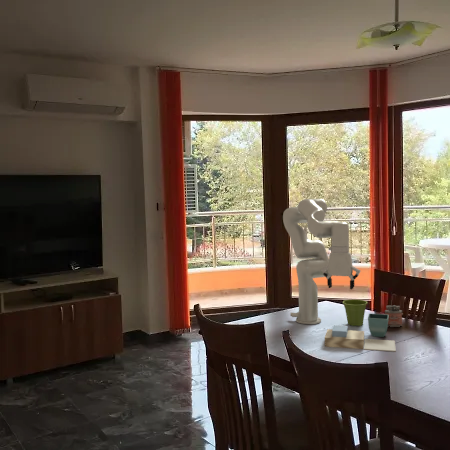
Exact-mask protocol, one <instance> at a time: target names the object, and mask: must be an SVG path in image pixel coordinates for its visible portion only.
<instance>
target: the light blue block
mask: <svg viewBox="0 0 450 450" xmlns="http://www.w3.org/2000/svg"><path fill="white" fill-rule="evenodd" d="M348 328H349V326H348V325H340V324H339V325H337V324H335V325H333V326H332V329H333V330H332V337H347V333H348V330H349V329H348Z"/></svg>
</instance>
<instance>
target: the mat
mask: <svg viewBox="0 0 450 450" xmlns="http://www.w3.org/2000/svg"><path fill="white" fill-rule="evenodd" d="M363 350H366V351H379V352H397V351H396V341H395V340H393V339H392V340H390V339H389V340H388V339H376V338H375V339H373V338H364V349H363Z"/></svg>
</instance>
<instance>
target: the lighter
mask: <svg viewBox="0 0 450 450" xmlns="http://www.w3.org/2000/svg"><path fill="white" fill-rule="evenodd" d="M384 314H385V315H389V318H388V327H389V326H390V328H394V327H395V328H397V327H398V328H399V327H400V326H402V327H403V317H402V315H403V310H401V309H400V305H395V304H394V305H386V308H385V310H384ZM388 327H387V328H388Z"/></svg>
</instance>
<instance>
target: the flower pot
mask: <svg viewBox="0 0 450 450" xmlns="http://www.w3.org/2000/svg"><path fill="white" fill-rule="evenodd" d="M388 318H389V315H385V313H384V314H382V313H381V314H380V313H368V316H367V323H368V330H369V332H370V335H371V336H372V337H378V338H379V337H380V338H384V337H385V336H386V334H387V331H388Z"/></svg>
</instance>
